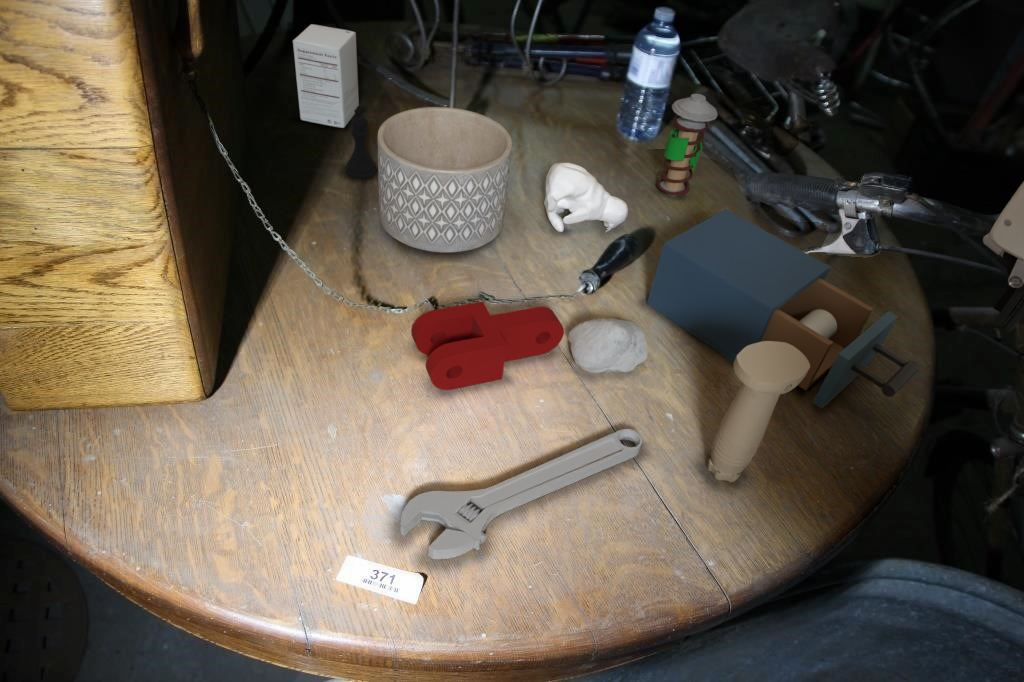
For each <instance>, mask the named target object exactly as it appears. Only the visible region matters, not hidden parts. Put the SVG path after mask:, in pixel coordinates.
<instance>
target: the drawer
mask: <svg viewBox="0 0 1024 682" xmlns="http://www.w3.org/2000/svg"><path fill="white" fill-rule="evenodd" d="M817 309H821V310H825V311H827V312H829V313H830V314H831V315H832V316H833V317H834V318H835V320H836V323H837V330H836V333H835V334H834V335H833V336H832V337H831V338H829V339H827V338H825V337H824V336H822V335H820V334H819V333H817V332H815V331H814V330H812V329H810V328H809V327H807V326H806V325H804V324H802V323H801V322H799V321H800V320H801V319H803V318H804V317H805V316H806V315H808V314H809V313H810V312H812V311H813V310H817ZM873 310H874V308H873V307H872V306H870V305H868V304H867V303H865V302H864V301H861V300H860V299H859V298H856V297H854V296H852V295H851V294H849V293H848V292H846V291H844V290H842V289H840V288H839V287H837V286H835V285H833V284H831V283H830V282H828V281H826V280H825V279H824V280H823V279H821V278H819V279H818V280H817V281H815V282H814V283H812V284H811V285H810V286H808V287H807V288H806V289H804V290H803V291H802V292H800V293H799V294H797V295H796V296H795V297H793V298H792V299H791V300H789V301H788V302H786V303H785V304H784V305H782V306H781V307H780V308H778V309H777V310H775V311H774V312H773V315H772V317H771V319H770V321H769V324H768V326H767V328H766V330H765V333H764V335H763V337H762V340H761V342H763V341H776V342H786V343H788V344H790V345H792V346H794V347H795V348H797V349H798V350H799V351H800V352H802V353H803V354H804V356H805V357H806V358H807V360H808V361H809V364H810V369H809V371H808V373H807V374H806V376H805V377H804V379H803V380H802V381H801V382H800V383H799V384H798V385H797V386H798V388H799V387H800V388H801V389H802V390H804V391H807V390H808V389H809V388H811V387H812V386H813V385H814V384H815V383H816V382H818V381H819V380H820V379H821V378H822V377H823V376H824V375H825V374H827V375H826V376H825V378H824V380H823V381H822V384H821V385H820V387H819V389H818V391H817V393H816V394H815V396H814V398H813V400H812V404H813V405H815V406H817V407H818V408H820V409H821V410H822V409H823V408H825V407H826V406H827V405H828V404H829V403H830V402H831V401H833V399H834V398H836V396H838V394H840V393H841V392H842V391H843V390H845V388H846V387H847V386H849V385H850V384H851V383H852V382H853V381H854V380H855V379H856V378H857V377H858V376H859V375H860V376H861V377H862V378H864V379H866V380H867V381H869V382H871V383H872V384H874V385H875V386H877V387H879V388H880V390H881V393H882V394H883V395H884V396H885V397H887V398H893V397H895V395H897V394H898V392H899V391H900V390H901V389H902V388H903V387H904V386H905V385H906V384H907V383H908V382H909V381H910V380H911V379H912V378H913V377H914V376H915V375H916V374H917V373H918V372H919V371H920V369H921V368H920V364H919V363H918V362H917V361H915V360H908V361H907V360H905V359H904V358H902V357H900V356H898V355H897V354H895V353H893V352H892V351H891V350H889V349H887V348H885V347H883V343H884V342H885V341H886V338H887V337H888V335H889V334H890V332H891V330H892V328H893V327H894V325H895V323H896V322H897V320H898V318H899V315H897V314H895V313H894V312H891V311H890V310H887V311H886V312H885V313H884V314H883V315H882V316H880V317H879V318H878V319H877V320H876V321H875V322H874V323H872V324H871V325H870V326H869V327H868V328H866V329H865V330H864V331H863V328H864V327H865V325H866V324H867V322H868V319H869V317H870V316H871V314H872V312H873ZM862 331H863V332H862ZM861 332H862V333H861ZM860 333H861V334H860ZM877 353H878V354H879V355H881V356H882V357H884V358H886V359H887V360H889V361H891V362H893V363H894V364H896V365H898V366H899V367H900V368H899V369H898V370H897V371H895V373H894V374H893V375H892V376H891V377H889V379H888V380H887V381H886V380H884V379H882V378H880V377H879V376H877V375H876V374H874V373H873V372H871V371H869V370H868V369H867V368H868V367H869V366H870V365H871V364H872V362H873V360H874V359H875V357H876V355H877ZM827 372H828V373H827Z"/></svg>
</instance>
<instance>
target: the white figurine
mask: <svg viewBox="0 0 1024 682" xmlns="http://www.w3.org/2000/svg"><path fill="white" fill-rule="evenodd" d="M544 183H545V198H544V202H543V205H544V208H545V211H546V215H547V218H548V220H549V223H550V224H551V226H552V227H553V228H554V229H555V230H556V231H557V232H558V233H562V232H564V229H565V225H571V224H572V225H573V224H576V223H577V224H578V223H581V222H584V221H602V222H603V226H604V227H605V233H607V232H609V231H611V230H612V229H615V228H617V226H619V225H620V224H622V223H624V222H625V221H626V220H627V218H628V214H629V208H628V205H627V203H626V202H625V201H624V200H623V199H621V198H619V197H616V196H614V195H611V194H610V193H609V192H608V191H607V190H606V189H605V188H604V186H603V184H601V183H600V182H598V180H597V178H596V177H595V176H594V175H592V174H591V173H590V172H589V171H587V169H585V168H584V167H582V166H581V165H578V164H575V163H571V162H556V163H553V164H552V165H551V166H550V167H549V170H548V172H547V174H546V177H545V182H544ZM565 210H568V211H569V212H570V213H569V214H568V215H565V216H563V218H562V217H561V216H560V215H559V214H563V213H564V212H565Z"/></svg>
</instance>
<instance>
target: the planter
mask: <svg viewBox="0 0 1024 682" xmlns="http://www.w3.org/2000/svg"><path fill="white" fill-rule="evenodd" d="M512 149H513V140H512V137H511V134H510V133H509V131H507V129H506V128H505V127H504V126H502V125H501V124H500V123H499V122H497V121H495V120H494V119H492V118H490V117H488V116H485V115H483V114H480V113H477V112H474V111H470V110H466V109H463V108H457V107H456V108H455V107H448V106H426V107H425V106H424V107H418V108H411V109H408V110H404V111H400V112H398V113H396V114H394V115H392V116H390V117H389V118H387V119H386V120H384V122H382V124H381V125H380V126H379V129H378V131H377V168H378V169H377V171H378V174H377V177H378V214H379V216H378V218H379V221H380V224H381V226H382V228H383V229H384V230H385V232H387V234H388V235H390V236H391V237H392V238H394V239H395V240H397V241H399V242H400V243H402V244H404V245H406V246H409V247H411V248H415V249H417V250H422V251H426V252H431V253H439V254H441V253H443V254H444V253H461V252H466V251H471V250H474V249H478V248H481V247H482V246H484V245H487V244H489V243H491V242H492V241H493V240H494V239H496V237H498V235H499V234H500V233H501V231H502V230H503V226H504V221H505V212H506V204H507V203H506V202H507V195H508V185H509V176H510V167H511V159H512V151H513V150H512Z"/></svg>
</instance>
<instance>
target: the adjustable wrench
mask: <svg viewBox="0 0 1024 682" xmlns="http://www.w3.org/2000/svg"><path fill="white" fill-rule="evenodd" d="M621 440H626V441H629V442H632V443H633V444H634V445H635V446H633V447H631V446H630V447H629V446H626V445H624V444H623V443H621ZM642 445H643V439H642V435H641V434H640V433H638V432H637V431H636V430H634V429H631V428H621V429H619V430H617V431H615V432H613V433H610V434H608V435H606V436H603V437H601V438H599V439H597V440H594V441H592V442H590V443H588V444H586V445H583V446H581V447H579V448H577V449H574V450H572V451H569V452H567V453H564V454H562V455H561V456H558V457H556V458H553V459H551V460H549V461H547V462H544V463H542V464H540V465H538V466H535V467H533V468H531V469H529V470H526V471H524V472H521V473H519V474H517V475H515V476H513V477H512V476H511V478H508V479H506V480H503V481H501V482H499V483H496V484H494V485H492V486H489V487H485V488H481V489H475V490H474V489H473V490H461V491H460V490H459V491H458V490H457V491H453V490H451V491H448V490H447V491H445V490H444V491H443V490H441V491H440V490H432V491H426V492H423V493H420V494H417V495H416V496H414V497H413V498H412V499H410V500H409V501H408V502H407V504H406V505H405V506H404V508H403V509H402V512H401V514H400V515H401V516H400V528H399V529H400V531H399V532H400V534H401V536H402V537H403V538H405V537H406V535H407V534H408V533H409V532H411V531H412V530H413V528H415V527H416V525H418V524H419V523H420V522H421V521H428V522H435V523H439V524H440V525H441V526H443V527H444V528H445V530H443V531H442V532H441V533H440V535H438V536H437V537H436V539H434V541H433V542H432V543H430V544H429V545H428V553H427V556H428V557H429V558H431V559H432V560H449V559H453V558H457V557H459V556H462V555H464V554H467V553H468V552H470V551H472V550H474V549H475V550H476V551H479V550H480V549H481V544H484V543H485V541H486V540H487V538H488V535H487V534H486V533H484V532H485V531H486V529H487V527H488V526H489V524H490V523H491V522H492V521H493V520H494V519H495V518H498V516H501V515H503V514H504V513H506V512H508V511H510V510H513V509H516V508H519V507H521V506H522V505H524V504H528V503H530V502H532V501H534V500H536V499H539V498H541V497H544V496H546V495H548V494H551V493H554V492H556V491H558V490H560V489H562V488H565V487H568V486H569V485H572V484H574V483H576V482H579V481H581V480H584V479H587V478H588V477H591V476H593V475H595V474H598V473H600V472H602V471H605V470H607V469H609V468H612V467H614V466H617V465H619V464H622V463H623V462H626V461H629V460H631V459H633V458H635V457H637V456H638V454H639V453H640V450H641V448H642Z"/></svg>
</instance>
